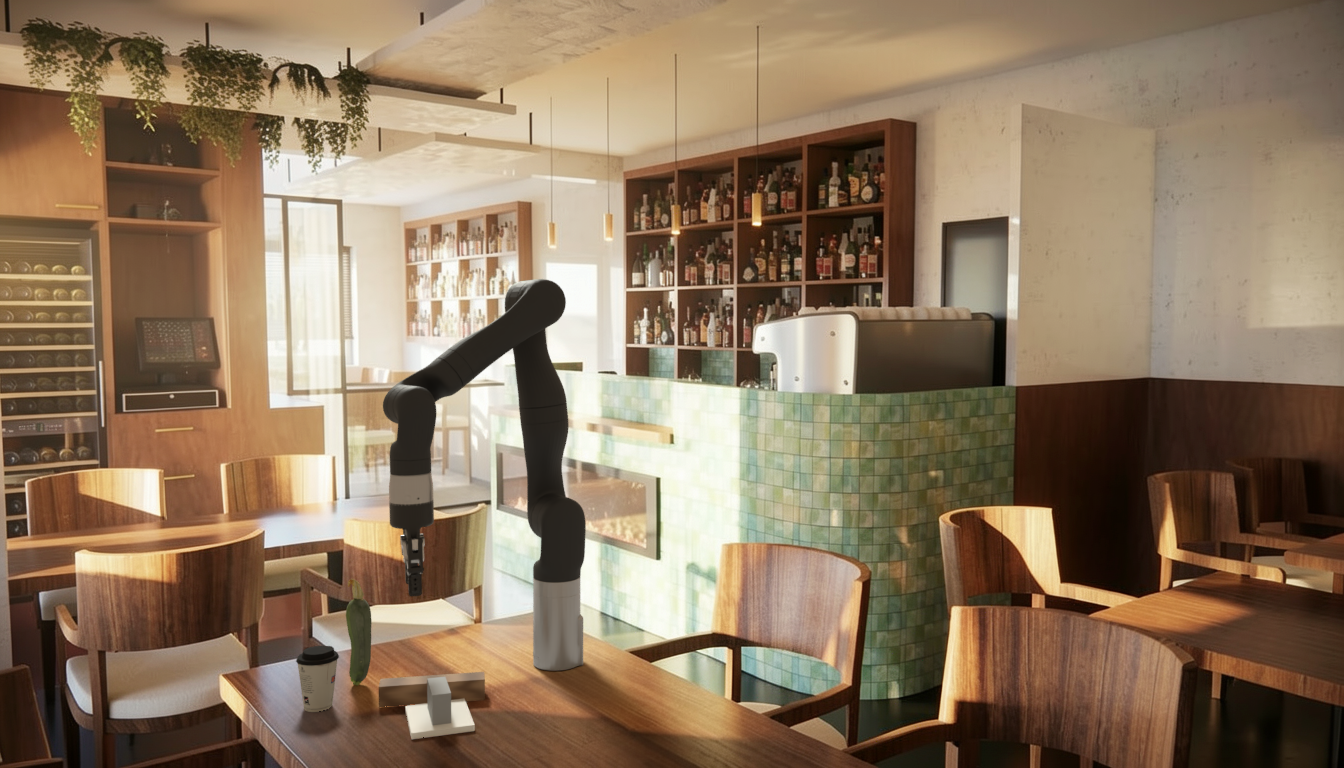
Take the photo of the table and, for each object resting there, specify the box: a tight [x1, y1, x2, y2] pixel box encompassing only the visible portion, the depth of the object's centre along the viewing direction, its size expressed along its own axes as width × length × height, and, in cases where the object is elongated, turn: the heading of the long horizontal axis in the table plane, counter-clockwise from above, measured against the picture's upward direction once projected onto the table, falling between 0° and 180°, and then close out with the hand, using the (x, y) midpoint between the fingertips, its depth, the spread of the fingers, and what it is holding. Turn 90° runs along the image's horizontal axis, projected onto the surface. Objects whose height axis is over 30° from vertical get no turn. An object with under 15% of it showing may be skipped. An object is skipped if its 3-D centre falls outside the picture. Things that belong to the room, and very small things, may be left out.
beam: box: [378, 671, 486, 708], centre depth 168 cm, size 18×4×4 cm, turn 103°
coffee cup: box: [295, 645, 340, 713], centre depth 164 cm, size 7×7×10 cm
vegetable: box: [345, 578, 372, 686], centre depth 173 cm, size 4×4×20 cm
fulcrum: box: [404, 677, 476, 740], centre depth 158 cm, size 10×12×6 cm
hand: (413, 589), depth 168 cm, fingers open, 8 cm apart
